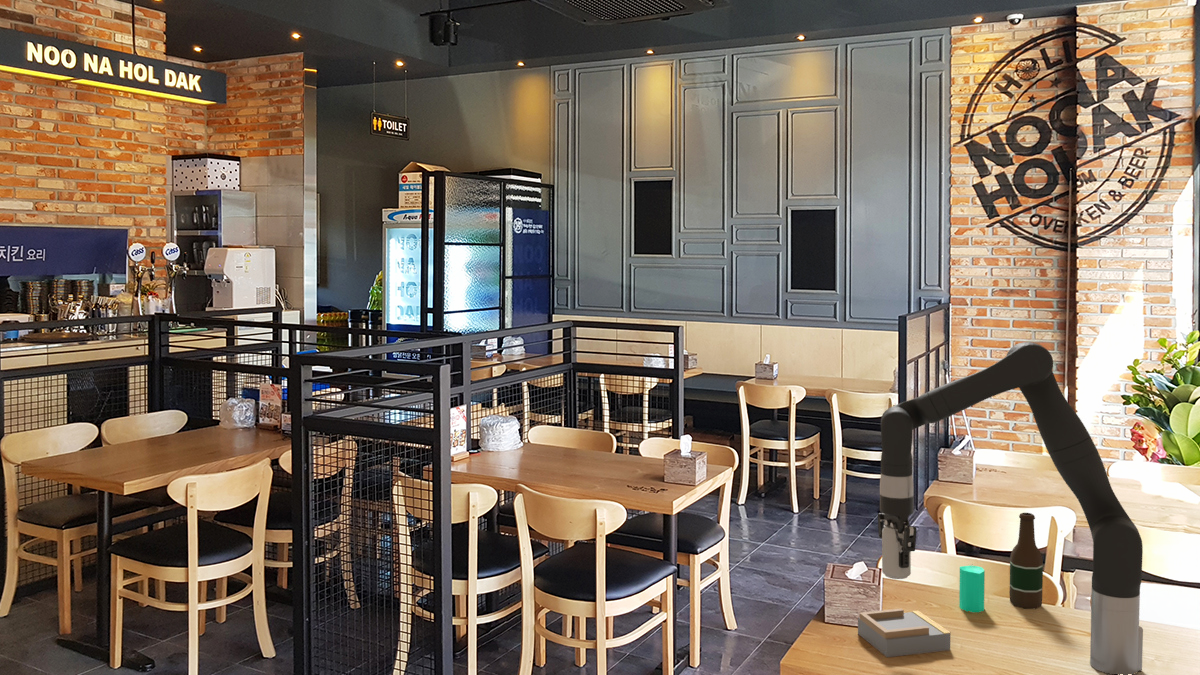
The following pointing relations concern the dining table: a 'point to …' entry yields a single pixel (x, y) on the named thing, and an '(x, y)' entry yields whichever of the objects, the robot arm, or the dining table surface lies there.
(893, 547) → the beverage can
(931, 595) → the dining table surface
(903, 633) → the dock
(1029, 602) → the beer bottle
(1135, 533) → the robot arm
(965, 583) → the candle
